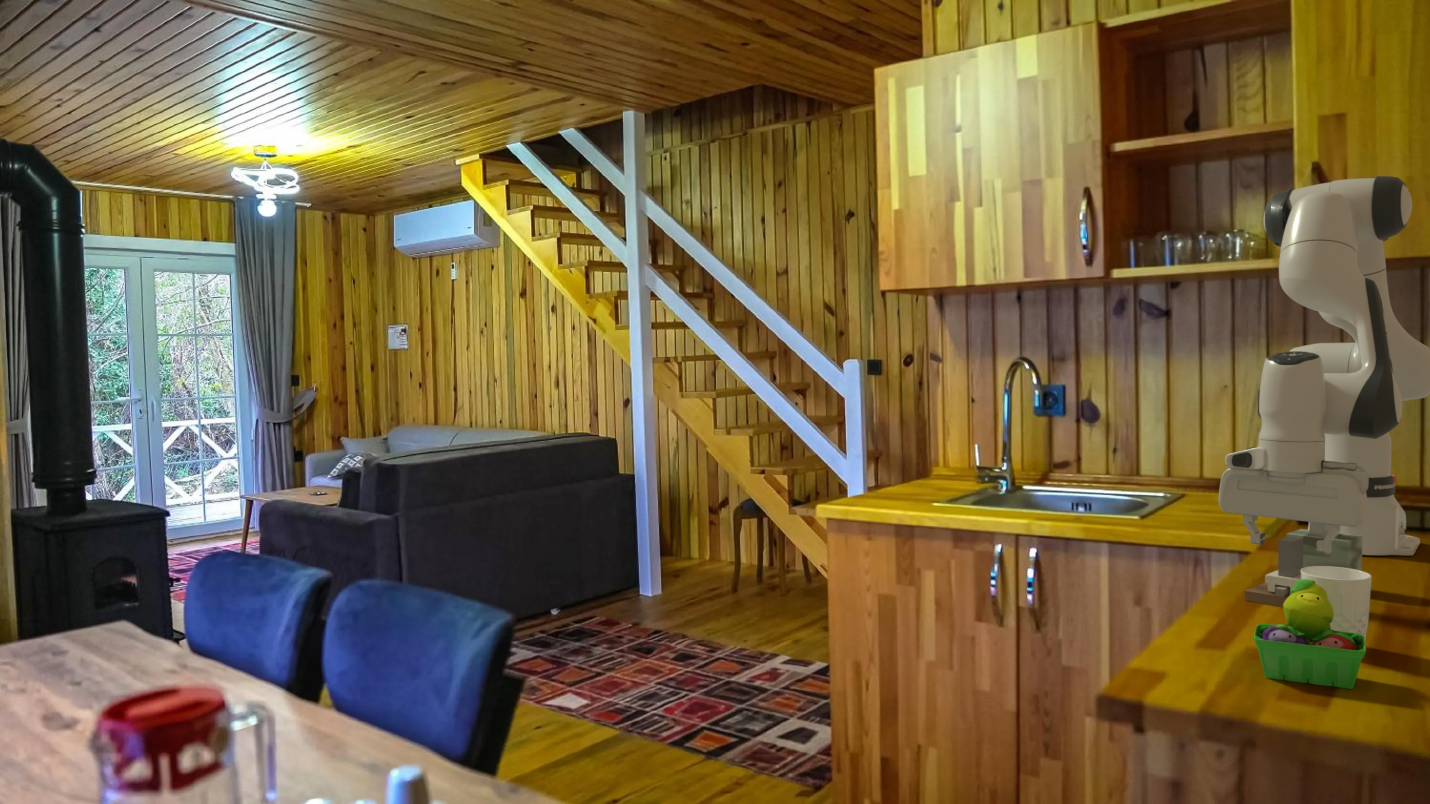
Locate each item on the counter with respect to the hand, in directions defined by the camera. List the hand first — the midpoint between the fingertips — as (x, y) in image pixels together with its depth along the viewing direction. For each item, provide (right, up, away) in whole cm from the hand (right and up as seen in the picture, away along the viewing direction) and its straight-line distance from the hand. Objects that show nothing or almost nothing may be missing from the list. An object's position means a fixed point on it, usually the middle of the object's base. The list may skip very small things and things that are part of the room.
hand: (1289, 548), depth 153 cm
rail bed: (+5, -8, +4) cm, 10 cm away
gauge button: (+10, +1, +8) cm, 13 cm away
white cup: (-7, -10, -22) cm, 25 cm away
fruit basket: (-16, -11, -32) cm, 38 cm away
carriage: (0, -7, +1) cm, 7 cm away
